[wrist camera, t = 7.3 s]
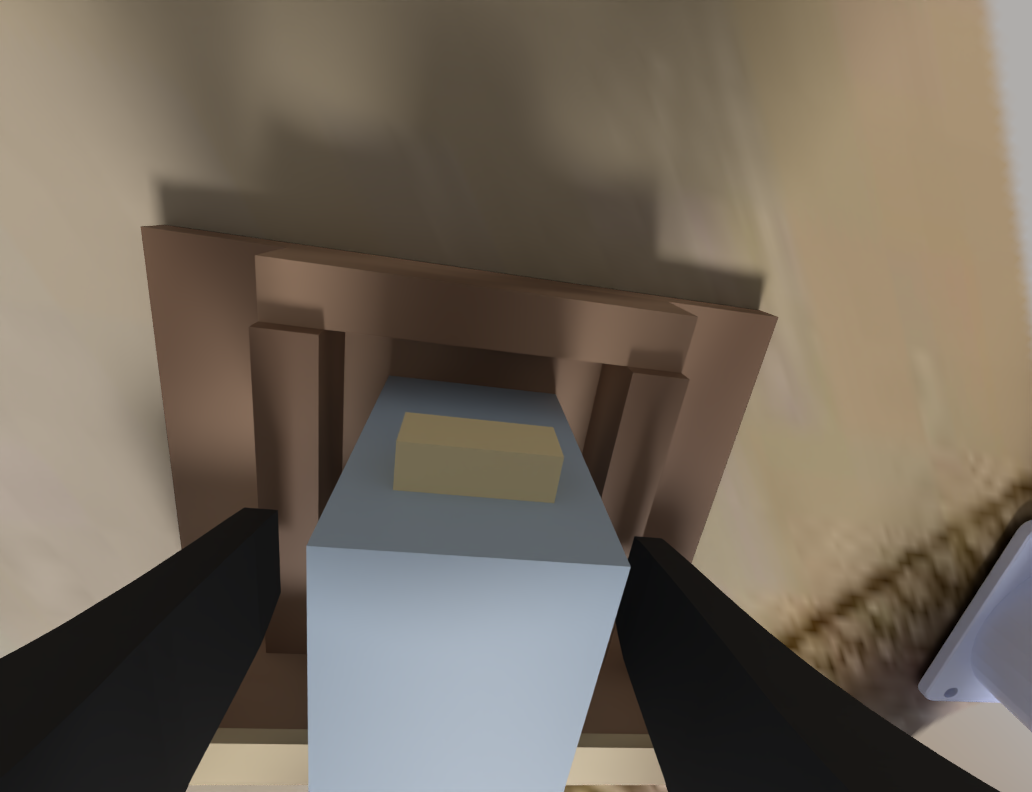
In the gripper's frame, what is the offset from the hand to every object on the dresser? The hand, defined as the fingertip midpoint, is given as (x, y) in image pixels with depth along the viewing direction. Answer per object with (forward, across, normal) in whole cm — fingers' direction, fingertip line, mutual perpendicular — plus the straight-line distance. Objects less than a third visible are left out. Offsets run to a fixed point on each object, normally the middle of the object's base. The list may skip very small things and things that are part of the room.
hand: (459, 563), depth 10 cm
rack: (+4, 0, 0) cm, 4 cm away
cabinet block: (+3, 0, 0) cm, 3 cm away
